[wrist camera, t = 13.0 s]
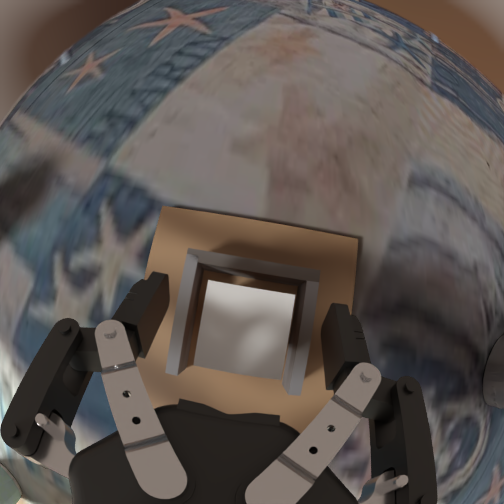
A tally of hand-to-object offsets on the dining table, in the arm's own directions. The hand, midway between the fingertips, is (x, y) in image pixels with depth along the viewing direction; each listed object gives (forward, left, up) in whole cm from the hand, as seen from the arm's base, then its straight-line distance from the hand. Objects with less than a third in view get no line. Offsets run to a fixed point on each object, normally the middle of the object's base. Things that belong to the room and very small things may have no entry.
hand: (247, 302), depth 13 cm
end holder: (+1, +1, -8) cm, 8 cm away
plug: (+1, +1, -7) cm, 7 cm away
